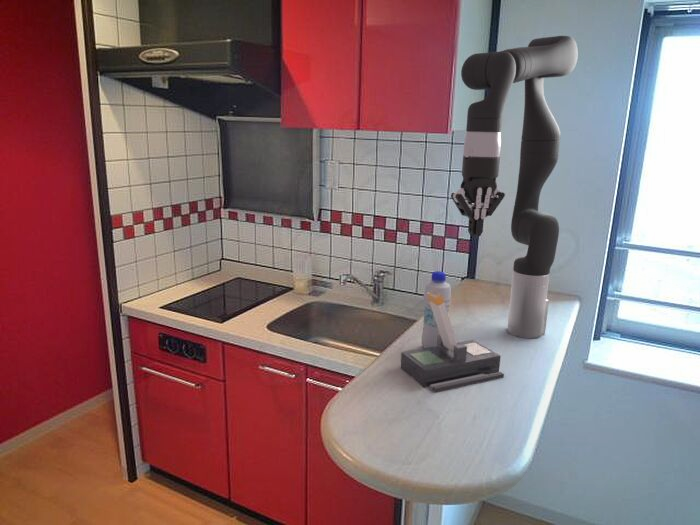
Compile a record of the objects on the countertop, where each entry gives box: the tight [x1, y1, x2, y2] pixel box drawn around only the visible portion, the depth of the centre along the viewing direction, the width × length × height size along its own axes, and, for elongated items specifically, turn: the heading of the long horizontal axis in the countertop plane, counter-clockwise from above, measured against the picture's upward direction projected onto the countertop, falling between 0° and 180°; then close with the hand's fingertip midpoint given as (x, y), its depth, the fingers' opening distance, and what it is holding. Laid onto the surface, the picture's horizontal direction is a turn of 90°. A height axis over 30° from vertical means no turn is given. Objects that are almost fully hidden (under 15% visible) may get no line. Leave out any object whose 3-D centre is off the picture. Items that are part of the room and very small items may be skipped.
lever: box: [427, 290, 458, 352], centre depth 116 cm, size 2×4×15 cm, turn 24°
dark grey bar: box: [429, 371, 505, 393], centre depth 114 cm, size 18×2×1 cm, turn 114°
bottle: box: [421, 270, 452, 348], centre depth 129 cm, size 7×7×20 cm
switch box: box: [400, 335, 501, 389], centre depth 119 cm, size 20×10×7 cm, turn 115°
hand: (474, 235), depth 114 cm, fingers closed
